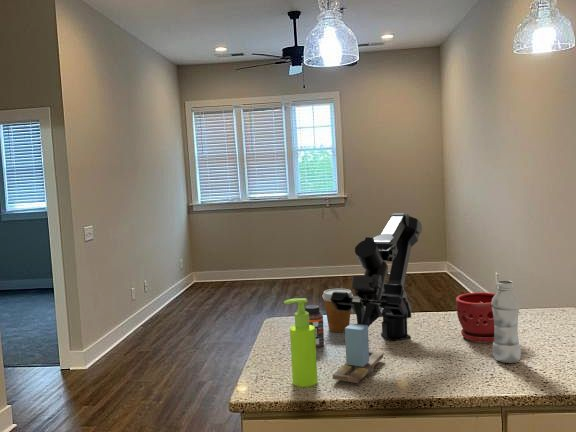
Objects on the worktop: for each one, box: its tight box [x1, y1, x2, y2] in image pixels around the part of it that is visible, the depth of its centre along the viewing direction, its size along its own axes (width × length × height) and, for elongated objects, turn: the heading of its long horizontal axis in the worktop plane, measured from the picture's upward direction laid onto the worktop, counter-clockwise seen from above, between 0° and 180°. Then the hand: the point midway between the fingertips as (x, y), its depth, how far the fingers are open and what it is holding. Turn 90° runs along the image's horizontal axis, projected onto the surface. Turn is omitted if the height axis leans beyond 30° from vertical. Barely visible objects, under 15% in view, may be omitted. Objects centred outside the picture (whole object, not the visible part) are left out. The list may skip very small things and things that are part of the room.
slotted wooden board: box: [332, 350, 384, 384], centre depth 128 cm, size 18×6×2 cm, turn 151°
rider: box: [344, 323, 370, 369], centre depth 127 cm, size 4×4×10 cm
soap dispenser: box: [283, 297, 318, 388], centre depth 122 cm, size 6×7×20 cm
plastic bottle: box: [491, 280, 522, 364], centre depth 129 cm, size 6×7×20 cm
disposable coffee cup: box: [321, 288, 354, 333], centre depth 163 cm, size 10×10×12 cm
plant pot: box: [455, 292, 496, 344], centre depth 147 cm, size 13×13×12 cm
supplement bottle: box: [305, 304, 325, 349], centre depth 149 cm, size 6×6×11 cm
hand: (360, 333), depth 128 cm, fingers closed, pressing on rider
